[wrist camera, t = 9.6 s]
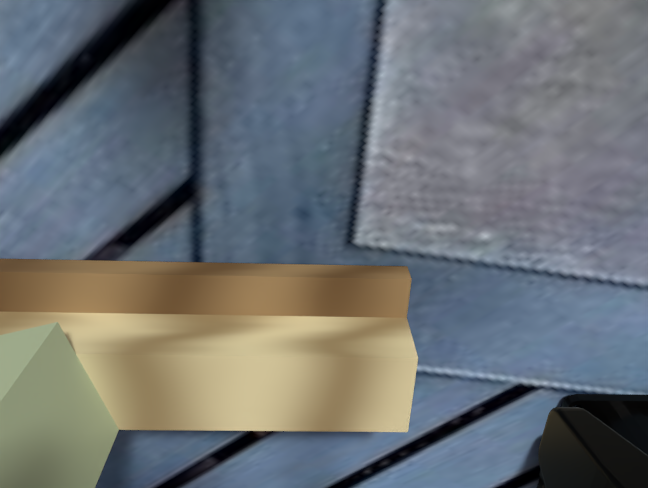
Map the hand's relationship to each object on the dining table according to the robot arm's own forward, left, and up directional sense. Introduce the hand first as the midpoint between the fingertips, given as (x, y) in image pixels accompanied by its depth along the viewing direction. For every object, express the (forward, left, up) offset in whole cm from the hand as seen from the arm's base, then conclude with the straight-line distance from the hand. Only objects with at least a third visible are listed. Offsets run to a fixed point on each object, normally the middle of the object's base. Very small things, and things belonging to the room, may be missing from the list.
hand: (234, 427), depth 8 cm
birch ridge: (+4, +8, -13) cm, 16 cm away
